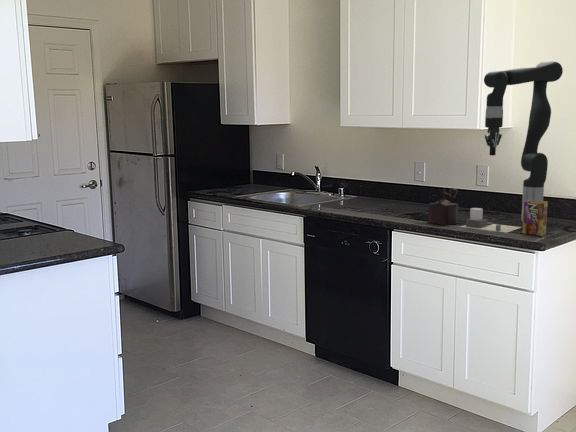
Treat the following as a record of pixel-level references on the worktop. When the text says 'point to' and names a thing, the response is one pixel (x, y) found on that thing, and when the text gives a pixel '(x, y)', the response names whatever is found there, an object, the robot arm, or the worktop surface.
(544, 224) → the candy box
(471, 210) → the plug
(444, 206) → the manual coffee grinder
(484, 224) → the board
